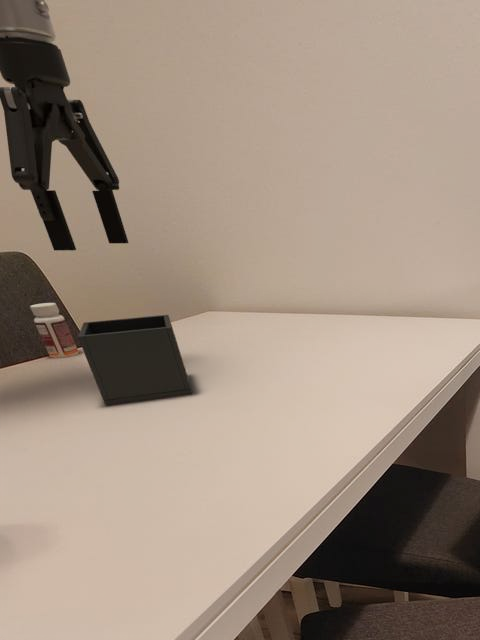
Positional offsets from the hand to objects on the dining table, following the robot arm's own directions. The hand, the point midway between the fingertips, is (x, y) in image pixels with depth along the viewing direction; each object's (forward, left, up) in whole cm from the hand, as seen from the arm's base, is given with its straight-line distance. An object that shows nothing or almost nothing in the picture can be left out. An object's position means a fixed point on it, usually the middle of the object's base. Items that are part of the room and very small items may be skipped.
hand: (93, 246), depth 86 cm
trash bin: (+1, -13, -17) cm, 22 cm away
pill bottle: (-13, +22, -18) cm, 31 cm away
